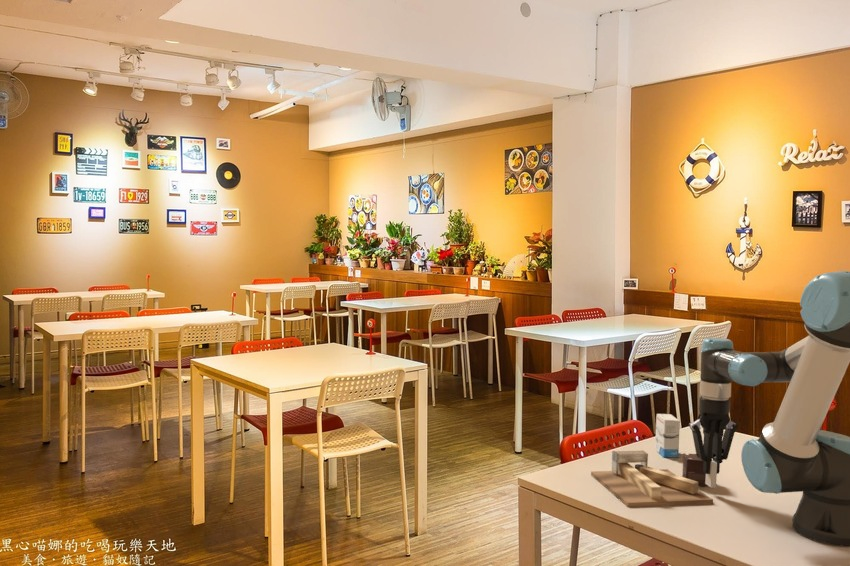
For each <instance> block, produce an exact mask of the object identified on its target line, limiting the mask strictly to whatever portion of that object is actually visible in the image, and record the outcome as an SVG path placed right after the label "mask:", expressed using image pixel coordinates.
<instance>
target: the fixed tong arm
mask: <svg viewBox="0 0 850 566" xmlns="http://www.w3.org/2000/svg"><path fill="white" fill-rule="evenodd" d="M618 473H619V474H620V475H621V476H623V477H624V478H625V479H626V480H628V481H629V482H630V483H632V484H633V485H634V486H635V487H637V488H638V489H639V490H640V491H642V492H643V493H644V494H646V495H647V496H648V497H649V498H651V499H661V487H660V486H659V485H657V484H656V483H655V482H653V481H652V480H651V479H649V478H648V477H646V476H645V475H644V474H642V473H641V472H640V471H638V470H637V469H635V466H633V465H632V464H630V463H619V464H618Z"/></svg>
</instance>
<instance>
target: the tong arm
mask: <svg viewBox="0 0 850 566" xmlns="http://www.w3.org/2000/svg"><path fill="white" fill-rule="evenodd" d="M634 468H635V469H637V470H638V471H640V472H641V473H642V474H644V475H645V476H646V477H648V478H649V479H651V480H652V481H654V482H657V483H660V484H663V485H666V486H669V487H672V488H675V489H679V490H682V491H685V492H688V493H691V494H694V493H697V492H698V490H699V486H698V482H697V481H694V480H690V479H687V478H684V477H682V476H680V475H676V474H675V473H674V474H675V475H674V474H671V473H667V472H664V471H661V470H662V469H657V468H653V467H651V466H648V465H647V466H643V465H641V463H640V464H639V463H638V464H634Z"/></svg>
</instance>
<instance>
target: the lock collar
mask: <svg viewBox="0 0 850 566" xmlns="http://www.w3.org/2000/svg"><path fill="white" fill-rule="evenodd" d="M611 454H612V455H611V471H612V472H613V473H615V474H616V475H618V464H619V463H629V464H630V463H631V464H632V463H640V465H643V466H648V463H649V461H648V459H649V453H647V452H646V451H644V450H616V451H615V450H614V451H612V453H611Z"/></svg>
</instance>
